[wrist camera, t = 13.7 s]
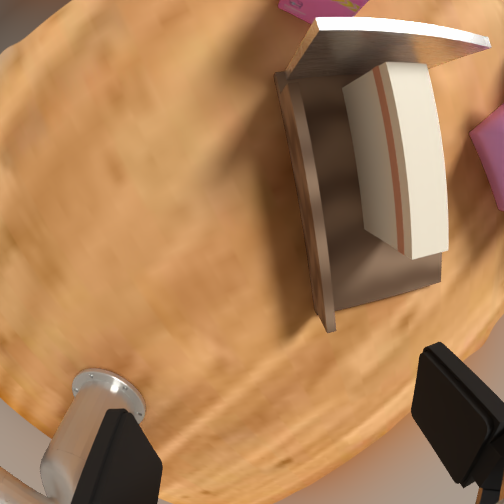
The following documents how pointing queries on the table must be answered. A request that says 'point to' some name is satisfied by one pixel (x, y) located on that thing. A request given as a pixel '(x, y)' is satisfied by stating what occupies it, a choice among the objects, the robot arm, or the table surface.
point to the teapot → (492, 151)
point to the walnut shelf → (339, 204)
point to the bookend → (376, 46)
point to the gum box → (321, 8)
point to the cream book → (399, 157)
